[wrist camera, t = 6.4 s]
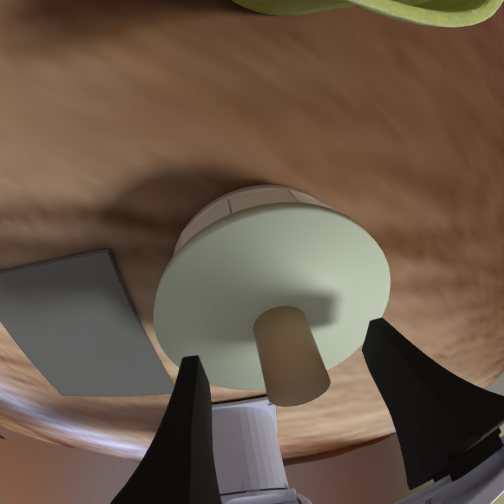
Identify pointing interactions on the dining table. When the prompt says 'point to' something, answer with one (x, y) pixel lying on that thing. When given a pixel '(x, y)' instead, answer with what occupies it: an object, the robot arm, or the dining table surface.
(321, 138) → the dining table surface
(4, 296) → the mat
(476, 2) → the plant pot
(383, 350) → the robot arm
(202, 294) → the lid
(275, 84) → the dining table surface
